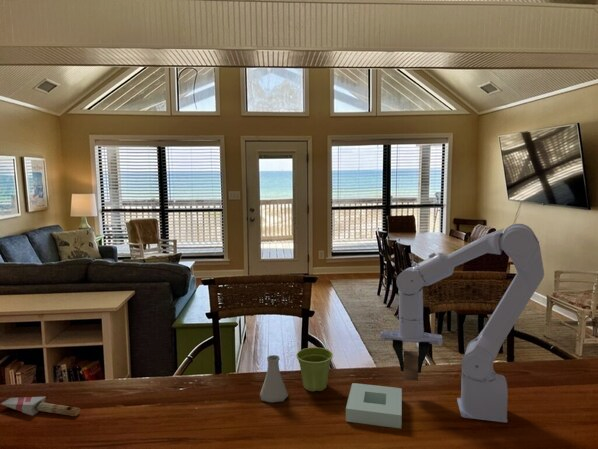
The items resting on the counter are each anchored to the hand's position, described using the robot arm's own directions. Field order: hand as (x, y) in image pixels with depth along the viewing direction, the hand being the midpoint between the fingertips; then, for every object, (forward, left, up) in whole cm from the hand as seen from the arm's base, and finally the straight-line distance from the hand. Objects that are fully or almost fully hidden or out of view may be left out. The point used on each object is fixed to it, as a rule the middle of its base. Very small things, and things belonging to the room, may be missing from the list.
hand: (410, 370), depth 100 cm
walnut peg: (0, 0, -2) cm, 2 cm away
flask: (+33, +8, -7) cm, 35 cm away
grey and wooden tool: (+85, +27, -7) cm, 89 cm away
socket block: (+8, +9, -6) cm, 14 cm away
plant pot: (+24, +1, -7) cm, 25 cm away
